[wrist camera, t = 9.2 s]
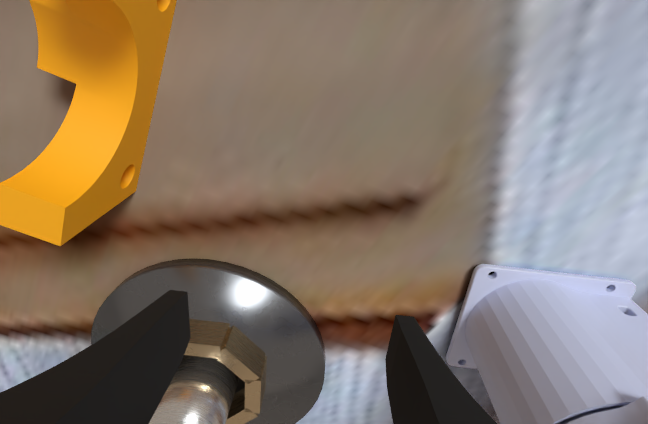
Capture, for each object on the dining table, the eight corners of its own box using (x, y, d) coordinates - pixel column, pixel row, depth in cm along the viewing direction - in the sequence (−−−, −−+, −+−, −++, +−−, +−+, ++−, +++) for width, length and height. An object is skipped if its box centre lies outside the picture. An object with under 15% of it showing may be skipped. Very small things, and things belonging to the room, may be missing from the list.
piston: (248, 358, 25) (222, 446, 20) (229, 399, 27) (200, 490, 21) (185, 336, 24) (140, 421, 19) (170, 379, 26) (125, 467, 21)
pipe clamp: (89, -83, 16) (-54, -153, 10) (186, -38, 17) (101, -80, 11) (61, 161, 21) (-48, 208, 15) (136, 190, 22) (60, 246, 16)
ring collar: (337, 273, 23) (336, 304, 20) (314, 439, 30) (311, 479, 27) (81, 245, 23) (46, 272, 20) (116, 417, 30) (93, 455, 27)
